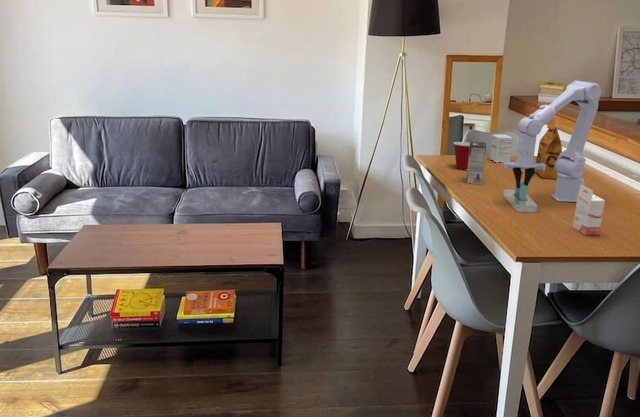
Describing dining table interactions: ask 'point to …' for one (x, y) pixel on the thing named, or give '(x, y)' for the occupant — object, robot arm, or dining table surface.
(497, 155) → the supplement box
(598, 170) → the dining table surface
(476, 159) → the coffee box
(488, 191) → the dining table surface
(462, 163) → the plastic cup
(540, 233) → the dining table surface
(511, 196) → the white slotted slab
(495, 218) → the dining table surface
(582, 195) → the ink cartridge box
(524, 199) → the teal rectangular plank
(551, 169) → the coffee package
